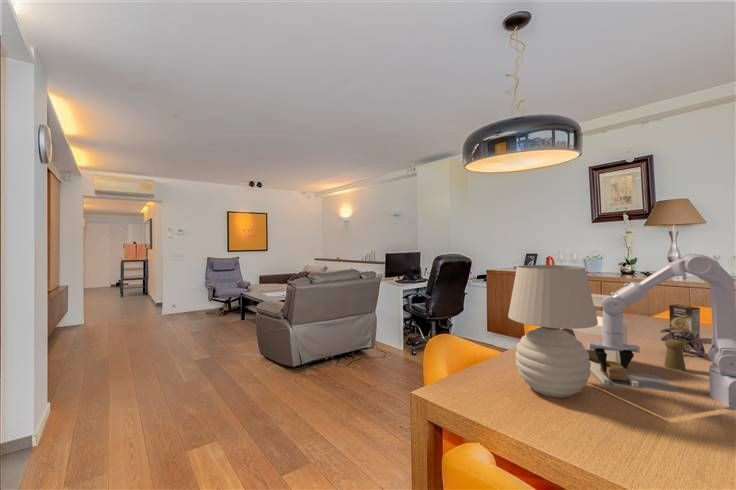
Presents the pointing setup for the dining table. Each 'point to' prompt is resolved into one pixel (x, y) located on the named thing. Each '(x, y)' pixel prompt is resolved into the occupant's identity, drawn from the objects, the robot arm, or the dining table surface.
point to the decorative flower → (685, 339)
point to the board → (634, 381)
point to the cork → (674, 355)
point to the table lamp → (552, 327)
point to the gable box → (600, 333)
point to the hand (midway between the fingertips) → (613, 371)
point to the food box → (685, 318)
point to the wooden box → (615, 370)
